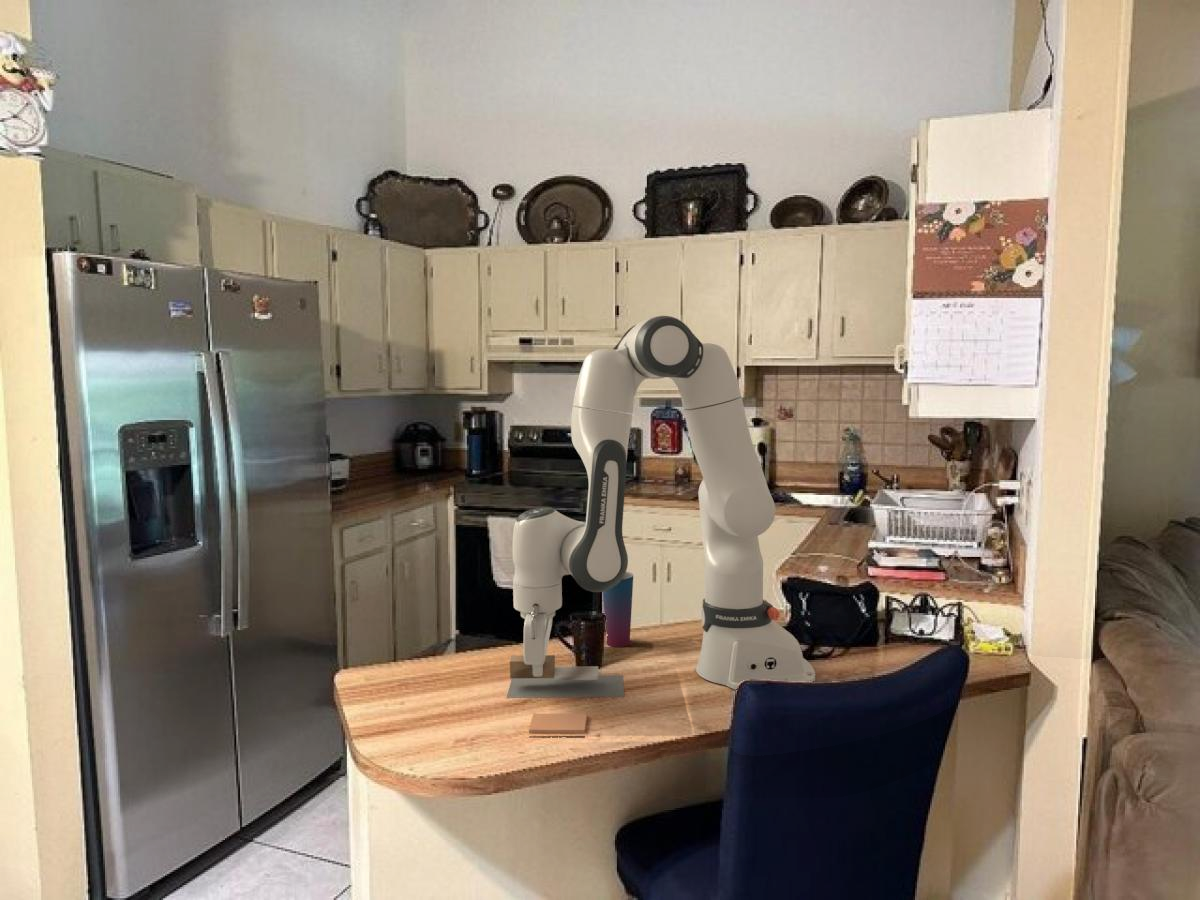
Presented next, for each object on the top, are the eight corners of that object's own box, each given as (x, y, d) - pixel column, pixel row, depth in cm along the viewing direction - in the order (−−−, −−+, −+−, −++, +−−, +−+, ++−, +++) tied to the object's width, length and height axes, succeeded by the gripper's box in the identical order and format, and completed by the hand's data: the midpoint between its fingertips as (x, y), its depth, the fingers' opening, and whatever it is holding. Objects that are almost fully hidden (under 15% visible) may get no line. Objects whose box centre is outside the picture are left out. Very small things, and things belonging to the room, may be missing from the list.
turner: (509, 680, 147) (509, 663, 146) (512, 670, 152) (512, 653, 151) (598, 679, 147) (597, 662, 146) (598, 669, 152) (598, 652, 151)
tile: (533, 723, 137) (586, 723, 137) (529, 740, 131) (584, 740, 131) (533, 713, 137) (586, 713, 136) (529, 729, 131) (584, 729, 130)
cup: (634, 638, 177) (634, 571, 176) (632, 649, 171) (632, 579, 169) (603, 637, 178) (603, 570, 176) (600, 648, 171) (599, 579, 170)
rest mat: (622, 679, 155) (622, 675, 154) (624, 700, 145) (624, 696, 144) (512, 680, 155) (512, 676, 154) (506, 702, 145) (506, 697, 145)
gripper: (551, 614, 137) (552, 693, 139) (557, 582, 158) (559, 651, 159) (514, 615, 137) (515, 693, 139) (525, 582, 158) (526, 651, 159)
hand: (539, 670), depth 149 cm, fingers closed on turner, 3 cm apart
